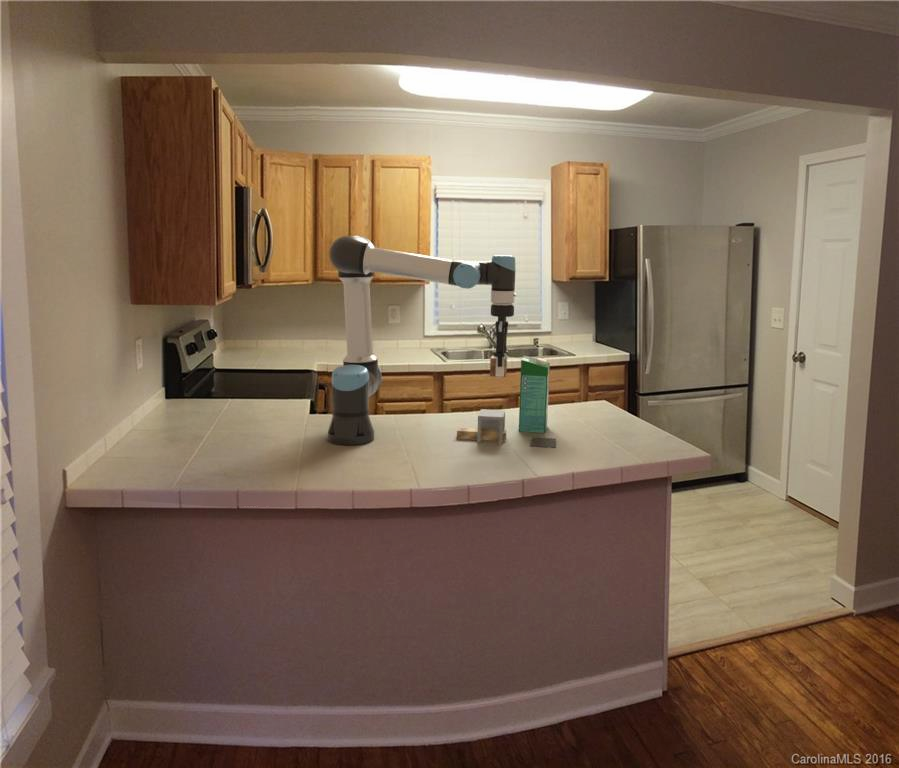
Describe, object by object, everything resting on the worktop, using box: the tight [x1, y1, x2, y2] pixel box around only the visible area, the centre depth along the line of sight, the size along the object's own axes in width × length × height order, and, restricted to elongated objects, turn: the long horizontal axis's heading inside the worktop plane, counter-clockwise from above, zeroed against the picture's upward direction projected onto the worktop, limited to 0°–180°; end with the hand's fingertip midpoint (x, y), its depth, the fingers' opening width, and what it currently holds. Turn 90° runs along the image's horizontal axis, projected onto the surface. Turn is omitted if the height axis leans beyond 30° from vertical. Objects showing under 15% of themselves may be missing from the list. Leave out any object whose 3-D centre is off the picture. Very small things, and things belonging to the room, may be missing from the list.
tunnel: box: [476, 408, 506, 445], centre depth 234 cm, size 8×9×9 cm
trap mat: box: [529, 436, 557, 449], centre depth 232 cm, size 8×10×1 cm
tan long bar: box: [456, 427, 507, 442], centre depth 236 cm, size 16×4×3 cm, turn 82°
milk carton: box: [518, 354, 551, 434], centre depth 246 cm, size 9×9×25 cm
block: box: [489, 355, 508, 378], centre depth 236 cm, size 5×5×6 cm
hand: (500, 374), depth 236 cm, fingers closed on block, 5 cm apart
